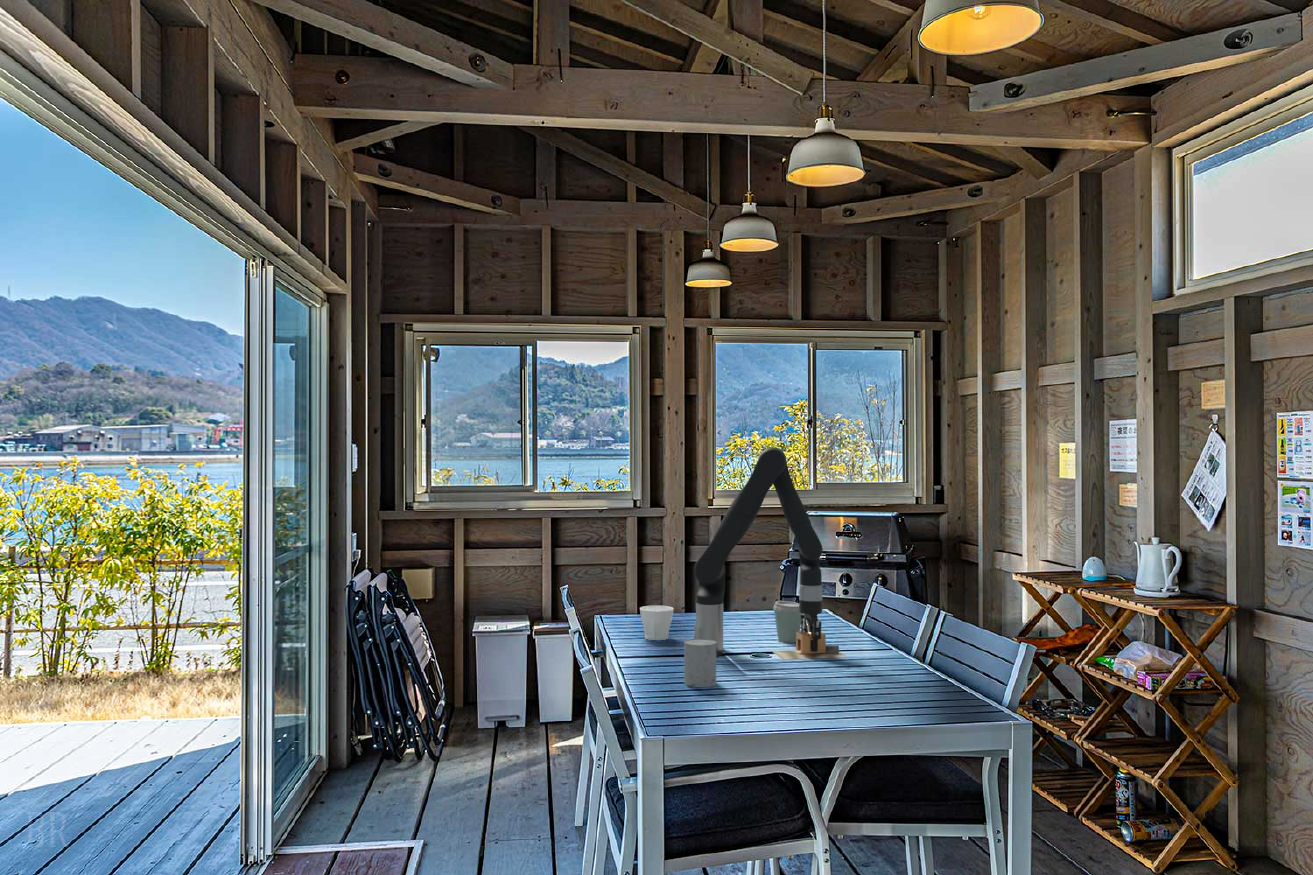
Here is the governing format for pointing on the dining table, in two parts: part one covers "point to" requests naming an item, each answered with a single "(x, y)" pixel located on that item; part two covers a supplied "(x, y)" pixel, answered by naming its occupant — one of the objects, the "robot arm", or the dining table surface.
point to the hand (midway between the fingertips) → (810, 649)
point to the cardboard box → (809, 642)
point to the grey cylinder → (700, 662)
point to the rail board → (811, 654)
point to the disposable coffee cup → (787, 620)
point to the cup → (656, 621)
